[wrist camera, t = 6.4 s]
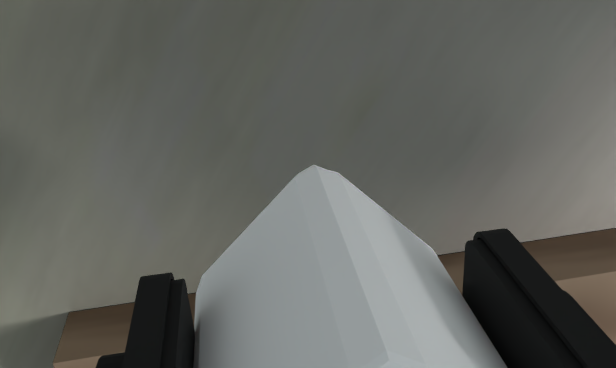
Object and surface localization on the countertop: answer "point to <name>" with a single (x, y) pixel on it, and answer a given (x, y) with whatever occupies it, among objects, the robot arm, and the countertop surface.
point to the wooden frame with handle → (548, 253)
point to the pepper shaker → (333, 290)
